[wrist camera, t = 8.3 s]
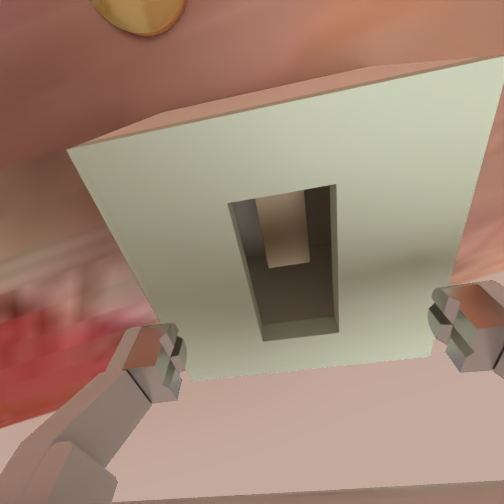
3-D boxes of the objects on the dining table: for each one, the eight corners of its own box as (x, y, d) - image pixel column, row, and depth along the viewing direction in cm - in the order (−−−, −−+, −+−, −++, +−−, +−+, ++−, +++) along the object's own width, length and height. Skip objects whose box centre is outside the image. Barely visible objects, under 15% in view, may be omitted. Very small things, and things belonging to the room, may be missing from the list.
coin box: (163, 111, 16) (65, 149, 8) (367, 66, 15) (511, 54, 7) (215, 268, 23) (191, 381, 14) (360, 246, 21) (429, 356, 13)
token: (252, 159, 17) (252, 186, 13) (290, 152, 17) (302, 176, 13) (265, 227, 20) (268, 268, 16) (298, 222, 20) (310, 262, 15)
